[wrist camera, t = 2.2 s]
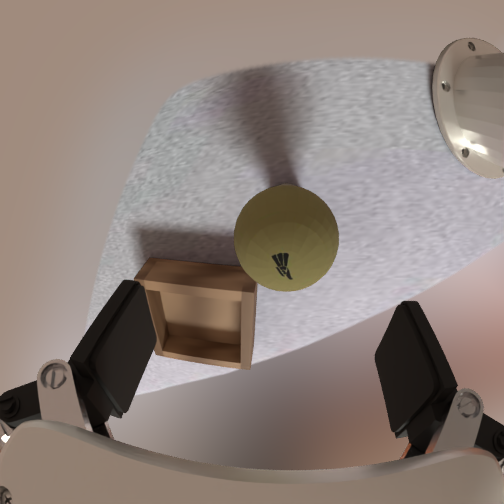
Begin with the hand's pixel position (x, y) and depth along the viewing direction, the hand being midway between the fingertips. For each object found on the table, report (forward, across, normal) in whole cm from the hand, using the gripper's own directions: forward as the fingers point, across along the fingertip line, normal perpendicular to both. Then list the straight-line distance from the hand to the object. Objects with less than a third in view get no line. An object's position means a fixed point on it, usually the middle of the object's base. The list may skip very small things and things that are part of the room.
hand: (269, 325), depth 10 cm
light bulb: (+14, -1, 0) cm, 14 cm away
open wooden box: (+14, +6, +12) cm, 19 cm away
